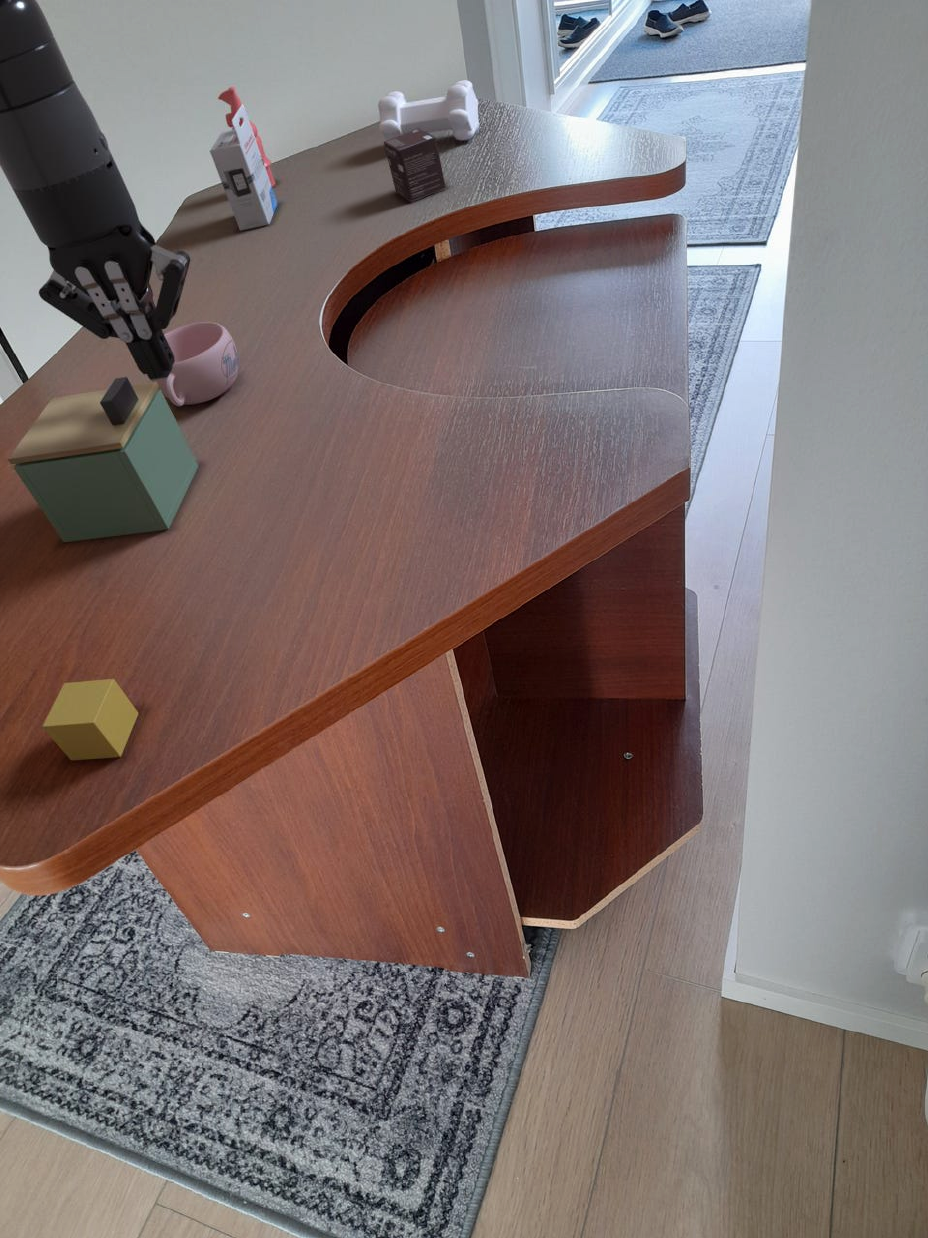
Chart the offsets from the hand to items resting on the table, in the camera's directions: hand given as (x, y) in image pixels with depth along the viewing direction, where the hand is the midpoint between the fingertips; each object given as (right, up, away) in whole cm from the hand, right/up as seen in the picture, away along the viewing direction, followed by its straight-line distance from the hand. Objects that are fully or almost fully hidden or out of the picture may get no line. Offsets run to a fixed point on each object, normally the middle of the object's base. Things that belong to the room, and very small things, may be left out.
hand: (162, 373), depth 77 cm
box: (+20, +42, +56) cm, 72 cm away
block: (0, -30, -11) cm, 32 cm away
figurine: (-8, +51, +73) cm, 89 cm away
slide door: (-8, -3, +4) cm, 10 cm away
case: (-6, -10, +11) cm, 16 cm away
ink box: (-6, +41, +62) cm, 75 cm away
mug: (-3, +4, +24) cm, 24 cm away
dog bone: (+21, +57, +70) cm, 93 cm away
